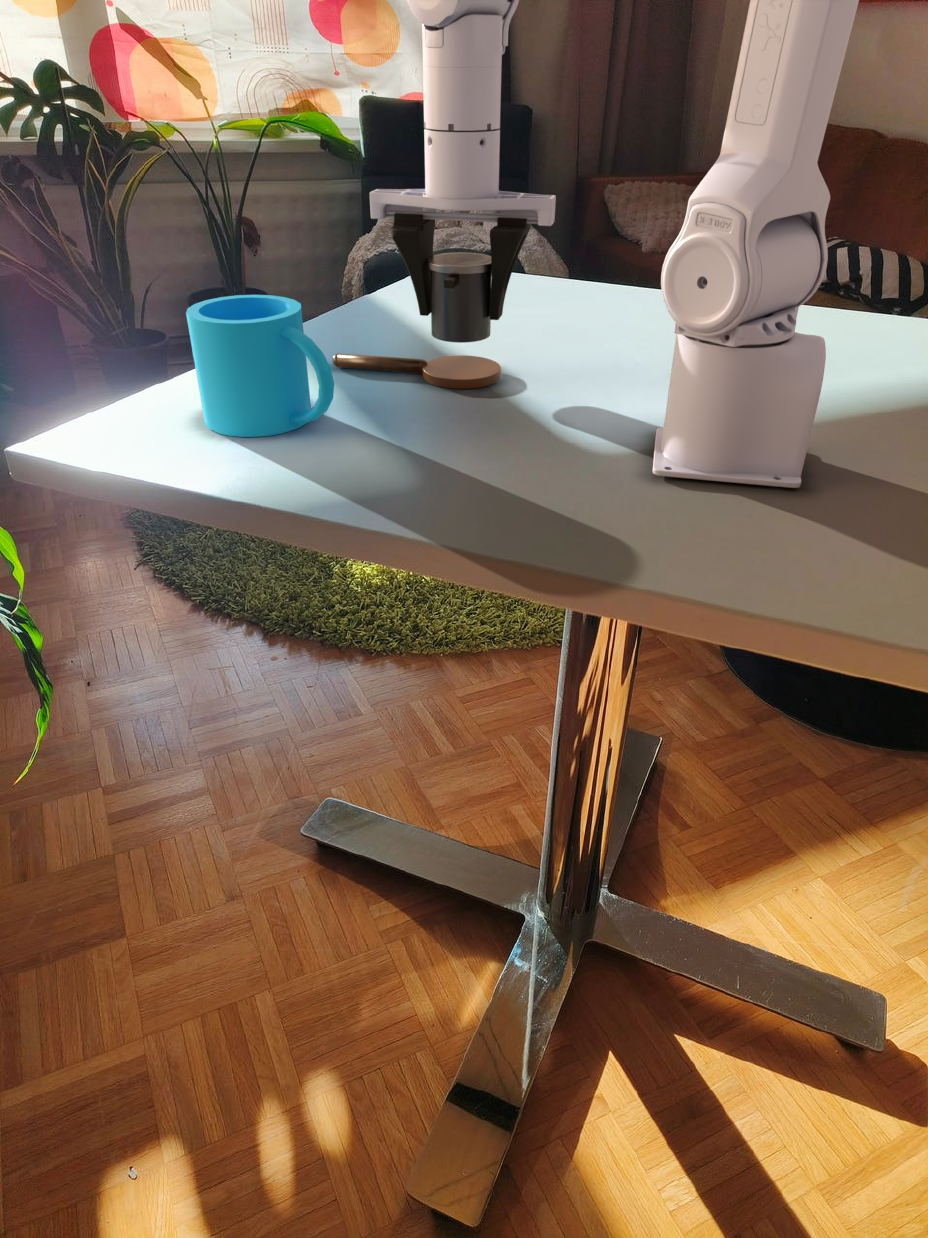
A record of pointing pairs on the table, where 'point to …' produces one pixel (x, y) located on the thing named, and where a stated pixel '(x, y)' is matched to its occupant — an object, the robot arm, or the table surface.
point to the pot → (460, 296)
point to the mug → (255, 365)
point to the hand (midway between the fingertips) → (461, 314)
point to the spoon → (431, 368)
